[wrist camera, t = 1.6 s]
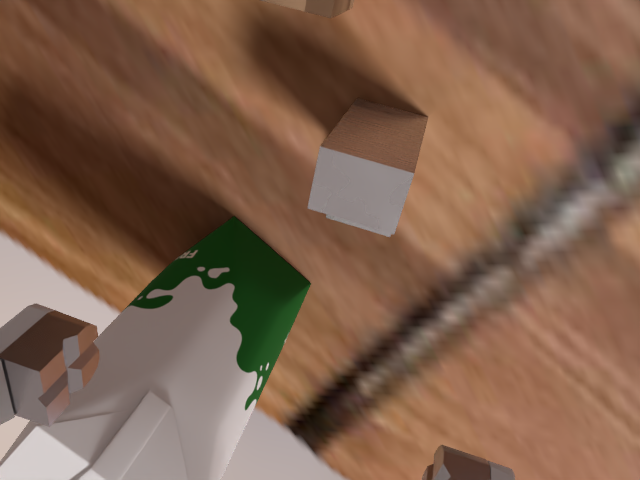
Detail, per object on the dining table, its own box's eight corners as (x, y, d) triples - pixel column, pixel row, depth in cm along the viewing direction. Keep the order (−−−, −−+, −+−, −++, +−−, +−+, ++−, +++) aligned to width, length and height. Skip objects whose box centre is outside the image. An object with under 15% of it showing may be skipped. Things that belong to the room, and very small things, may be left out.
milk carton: (258, 342, 38) (96, 642, 22) (168, 267, 37) (-81, 528, 20) (329, 284, 34) (193, 610, 17) (230, 196, 32) (-28, 459, 15)
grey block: (428, 117, 26) (414, 173, 20) (393, 225, 30) (371, 303, 23) (357, 97, 27) (320, 146, 20) (331, 206, 30) (293, 277, 24)
